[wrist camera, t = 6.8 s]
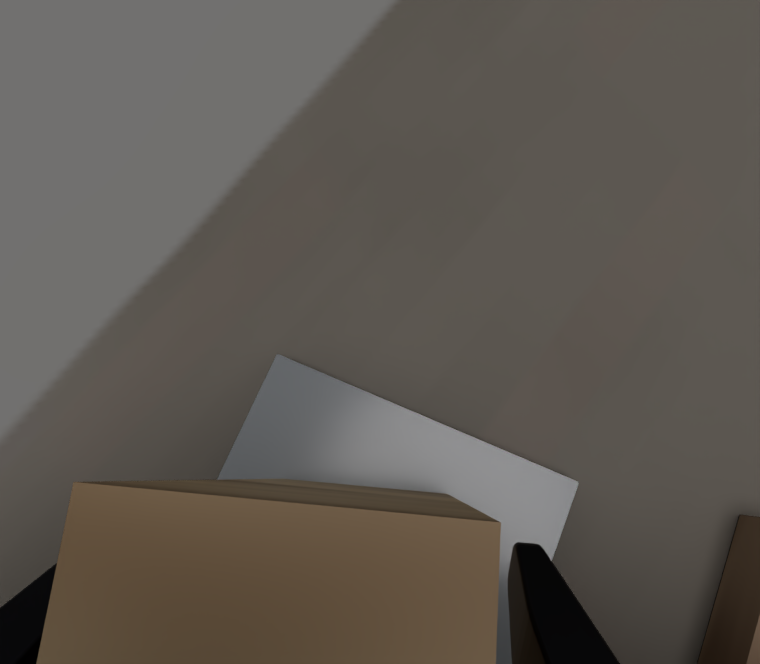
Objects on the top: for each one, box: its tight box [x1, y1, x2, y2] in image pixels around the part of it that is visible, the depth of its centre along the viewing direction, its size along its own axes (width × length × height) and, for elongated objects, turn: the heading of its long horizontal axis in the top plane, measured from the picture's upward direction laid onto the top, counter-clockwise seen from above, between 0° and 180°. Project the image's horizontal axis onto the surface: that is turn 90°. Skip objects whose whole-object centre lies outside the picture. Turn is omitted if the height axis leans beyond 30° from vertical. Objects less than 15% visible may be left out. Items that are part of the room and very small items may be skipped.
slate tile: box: [217, 354, 579, 664], centre depth 16 cm, size 9×9×1 cm
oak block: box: [36, 479, 501, 664], centre depth 10 cm, size 4×4×10 cm
